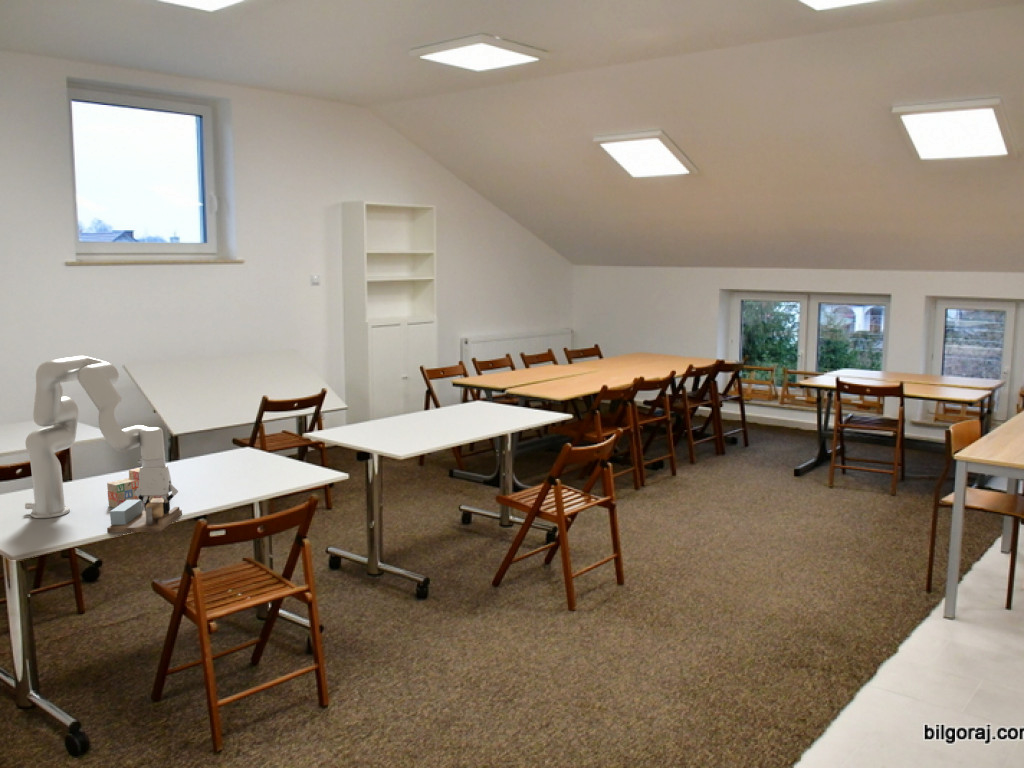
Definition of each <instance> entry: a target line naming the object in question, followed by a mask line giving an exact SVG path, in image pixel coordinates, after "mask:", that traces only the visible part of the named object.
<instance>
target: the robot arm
mask: <svg viewBox="0 0 1024 768" xmlns="http://www.w3.org/2000/svg"><path fill="white" fill-rule="evenodd" d="M35 372H36V373H35V396H34V403H33V404H34V405H33V413H32V417H33V421H34V423H35V424H36V425H37V426H38V427H43V428H40V429H39V428H38V429H36V430H33V431H32V432H30V433H29V434H28V435H27V436H26V438H25V448H26V451H27V454H28V459H29V462H30V470H31V480H32V489H33V499H34V502H25V504H24V509H25V510H32V511H30V516H31V517H32V518H33V519H49V518H55V517H60V516H63V515H67V514H68V513H69V512H70V510H71V507H70V506H67V505H66V504H65V496H64V495H65V494H64V484H63V474H62V473H63V471H62V465H61V462H60V459H58V456H57V455H56V453H57V452H62V451H64V450H67V449H70V448H71V447H72V446H73V445H74V443H75V441H76V437H77V428H78V419H79V407H78V405H77V402H76V401H75V400H74V399H73V398H71V397H69V396H63V395H64V394H63V391H64V390H63V386H62V384H61V383H68V382H73V381H78V383H79V384H80V386H81V387H82V388H83V390H84V392H85V393H86V394H87V396H88V397H89V398H90V400H91V401H92V403H93V404H94V406H95V407H96V408H97V410H98V416H97V417H98V427H99V431H100V433H101V434H102V436H103V437H104V439H105V440H106V441H107V444H109V446H110V447H112V448H113V449H114V451H118V452H127V451H130V450H132V449H135V448H136V449H137V448H139V447H140V455H141V458H140V459H138V461H137V463H138V464H139V465H140V464H141V467H139V468H140V471H139V487H138V488H137V489H136V491H135V492H134V494H135V495H136V496H137V497H139V499H140V500H142V501H143V502H142V504H144V505H143V506H144V509H145V508H146V505H147V504H148V503H149V502H150V501H151V500H150V501H149V499H150V496H162V497H163V499H164V503H163V509H164V514H167V513H168V512H169V510H171V503H170V502H171V500H172V499H173V498H174V497H175V496H176V495H177V494H178V493H179V490H178V489H177V488H176V487H175V486H174V485H173V484H172V478H171V473H170V469H169V466H168V465H167V464H166V454H165V453H166V452H165V442H164V441H165V439H164V431H163V429H162V427H157V426H150V427H149V426H145V425H143V424H142V425H141V424H137V425H133V426H128V427H124V428H121V426H120V424H119V423H118V422H117V420H116V416H115V410H116V408H117V407H118V406H120V404H121V402H122V399H123V398H122V396H121V394H119V392H118V391H117V389H116V388H115V386H114V384H116V383H118V381H119V377H120V376H119V371H118V369H117V367H116V366H115V365H113V363H111V362H108V361H105V360H101V359H98V358H97V359H96V358H93V357H90V356H85V355H77V356H71V357H63V358H55V359H51V360H48V361H44V362H42V363H41V364H40V365H38V367H37V369H36V371H35ZM170 492H172V493H170ZM169 493H170V494H169Z"/></svg>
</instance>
